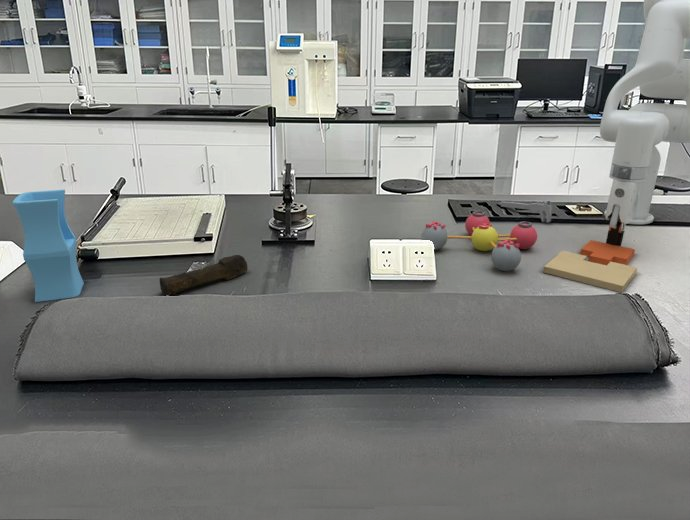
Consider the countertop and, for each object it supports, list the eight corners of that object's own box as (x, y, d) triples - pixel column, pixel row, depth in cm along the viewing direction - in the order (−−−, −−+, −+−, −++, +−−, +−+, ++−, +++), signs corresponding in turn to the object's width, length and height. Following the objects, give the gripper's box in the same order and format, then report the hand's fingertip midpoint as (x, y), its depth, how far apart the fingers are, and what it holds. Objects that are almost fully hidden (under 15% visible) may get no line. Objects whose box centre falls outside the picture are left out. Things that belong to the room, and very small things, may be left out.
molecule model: (415, 249, 129) (416, 224, 127) (461, 228, 144) (463, 205, 141) (510, 278, 114) (514, 250, 111) (552, 251, 128) (556, 226, 125)
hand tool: (166, 300, 104) (163, 279, 102) (159, 293, 107) (156, 272, 105) (253, 276, 115) (251, 257, 113) (244, 270, 118) (243, 251, 116)
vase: (78, 296, 106) (57, 200, 98) (34, 302, 104) (9, 203, 96) (84, 280, 113) (65, 189, 105) (43, 285, 111) (20, 192, 103)
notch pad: (561, 256, 125) (562, 250, 124) (636, 273, 116) (637, 267, 115) (543, 272, 116) (544, 266, 116) (621, 292, 107) (623, 285, 106)
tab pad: (589, 245, 132) (590, 239, 131) (633, 255, 126) (635, 249, 125) (576, 258, 124) (577, 252, 123) (622, 269, 118) (623, 263, 117)
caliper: (550, 223, 147) (554, 201, 145) (547, 224, 147) (551, 202, 144) (499, 204, 164) (502, 184, 161) (497, 205, 163) (499, 185, 161)
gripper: (638, 181, 114) (621, 259, 122) (653, 168, 125) (637, 240, 132) (601, 176, 119) (587, 251, 126) (619, 163, 129) (605, 234, 137)
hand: (613, 245), depth 129 cm, fingers closed
